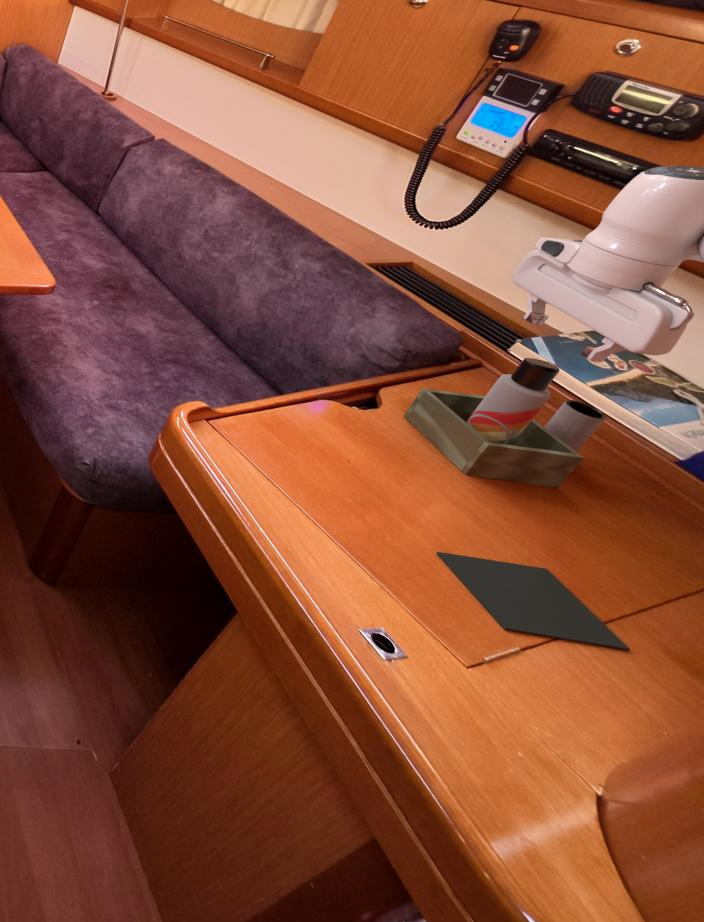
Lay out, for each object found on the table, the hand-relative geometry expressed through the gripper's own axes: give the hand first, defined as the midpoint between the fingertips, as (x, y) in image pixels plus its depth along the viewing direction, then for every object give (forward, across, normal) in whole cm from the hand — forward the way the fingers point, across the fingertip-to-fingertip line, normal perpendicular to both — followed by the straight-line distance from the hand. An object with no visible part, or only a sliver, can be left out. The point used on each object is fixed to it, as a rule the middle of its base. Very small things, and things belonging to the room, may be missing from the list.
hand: (560, 339), depth 99 cm
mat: (+25, -30, +17) cm, 42 cm away
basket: (+25, 0, 0) cm, 25 cm away
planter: (+25, +2, -13) cm, 28 cm away
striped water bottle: (+25, 0, 0) cm, 25 cm away
